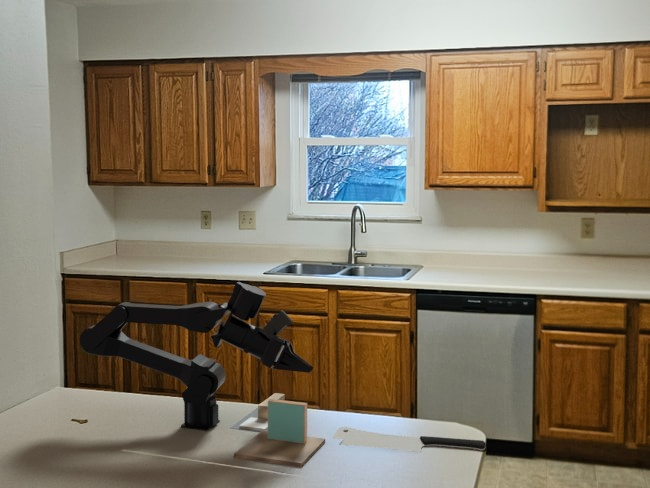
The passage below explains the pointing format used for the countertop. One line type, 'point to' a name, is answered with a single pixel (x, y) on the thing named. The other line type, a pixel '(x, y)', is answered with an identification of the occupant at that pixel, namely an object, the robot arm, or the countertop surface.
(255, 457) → the board
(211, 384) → the robot arm
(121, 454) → the countertop surface
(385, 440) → the kitchen cleaver
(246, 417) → the mat
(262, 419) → the turner
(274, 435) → the tile
